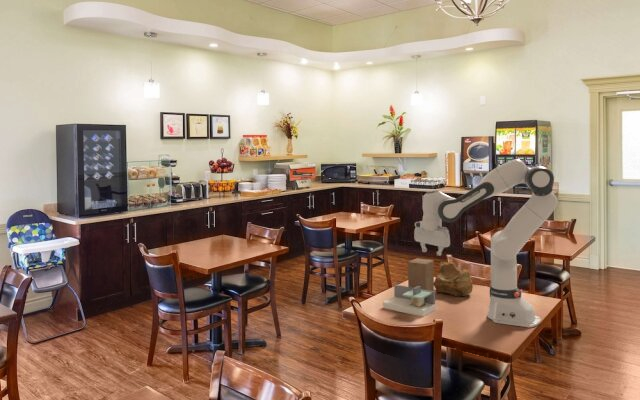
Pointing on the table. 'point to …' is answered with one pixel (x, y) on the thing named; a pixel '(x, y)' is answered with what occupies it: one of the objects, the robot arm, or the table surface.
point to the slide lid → (417, 293)
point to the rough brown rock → (453, 280)
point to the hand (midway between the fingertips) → (431, 253)
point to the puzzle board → (409, 302)
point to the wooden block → (421, 274)
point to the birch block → (417, 302)
